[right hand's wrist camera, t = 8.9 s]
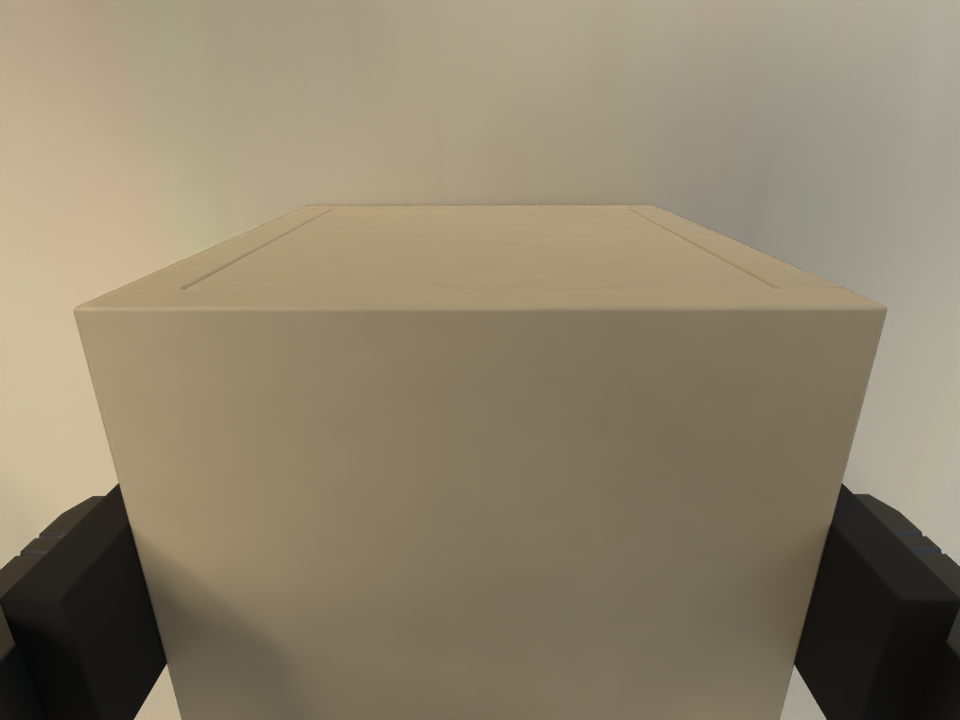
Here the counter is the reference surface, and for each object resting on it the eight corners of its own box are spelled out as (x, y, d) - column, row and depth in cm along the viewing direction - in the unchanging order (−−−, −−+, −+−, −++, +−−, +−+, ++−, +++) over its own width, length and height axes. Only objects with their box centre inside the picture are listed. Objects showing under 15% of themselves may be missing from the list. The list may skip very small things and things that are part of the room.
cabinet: (609, 633, 23) (705, 1007, 13) (351, 633, 23) (256, 1007, 13) (654, 204, 17) (891, 305, 7) (306, 205, 17) (69, 307, 7)
